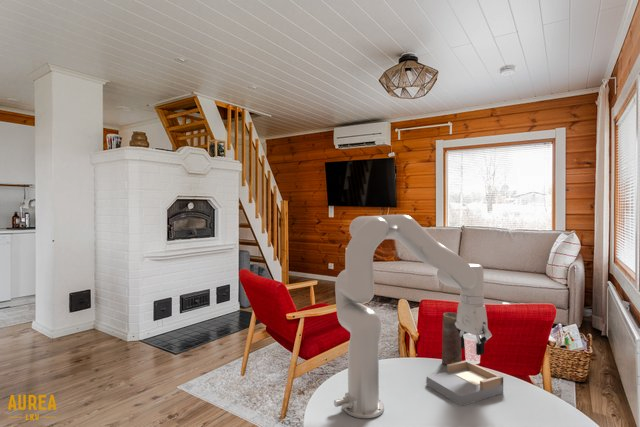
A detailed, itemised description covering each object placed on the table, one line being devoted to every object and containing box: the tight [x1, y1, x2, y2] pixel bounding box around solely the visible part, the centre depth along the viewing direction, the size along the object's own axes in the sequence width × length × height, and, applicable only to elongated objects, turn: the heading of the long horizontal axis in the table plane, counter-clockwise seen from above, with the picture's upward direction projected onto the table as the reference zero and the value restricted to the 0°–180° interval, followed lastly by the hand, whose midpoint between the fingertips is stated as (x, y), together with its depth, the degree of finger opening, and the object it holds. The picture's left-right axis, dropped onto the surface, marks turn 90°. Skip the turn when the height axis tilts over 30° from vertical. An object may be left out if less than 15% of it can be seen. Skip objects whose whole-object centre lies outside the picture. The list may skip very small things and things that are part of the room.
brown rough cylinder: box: [441, 311, 463, 366], centre depth 152 cm, size 8×7×20 cm
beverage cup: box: [463, 333, 481, 365], centre depth 132 cm, size 6×6×14 cm
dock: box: [426, 359, 504, 406], centre depth 130 cm, size 19×16×6 cm
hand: (472, 350), depth 132 cm, fingers closed on beverage cup, 6 cm apart
